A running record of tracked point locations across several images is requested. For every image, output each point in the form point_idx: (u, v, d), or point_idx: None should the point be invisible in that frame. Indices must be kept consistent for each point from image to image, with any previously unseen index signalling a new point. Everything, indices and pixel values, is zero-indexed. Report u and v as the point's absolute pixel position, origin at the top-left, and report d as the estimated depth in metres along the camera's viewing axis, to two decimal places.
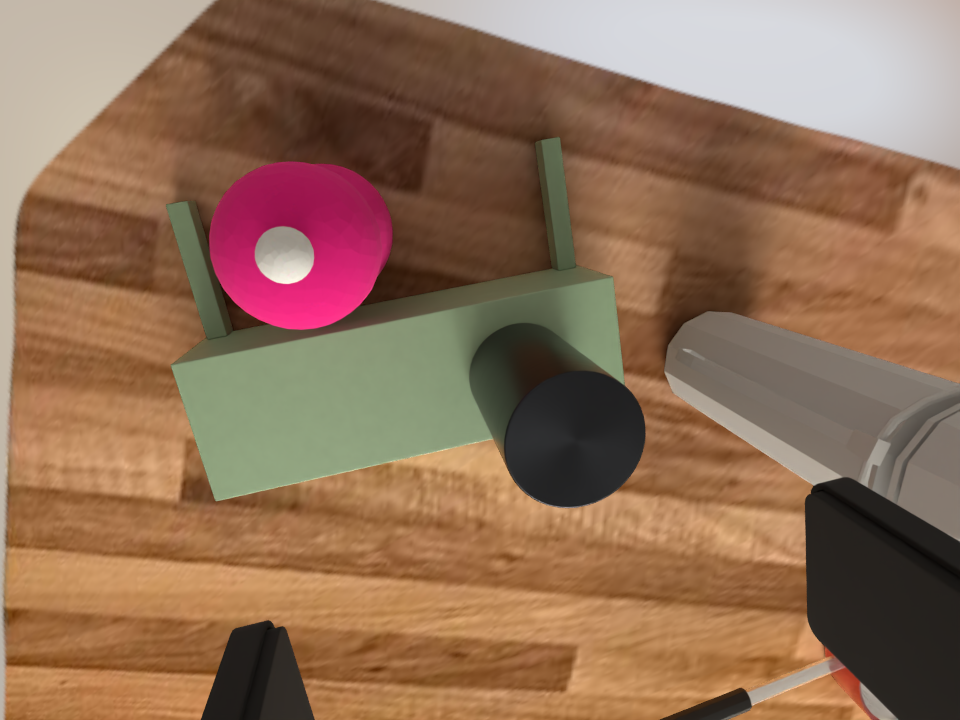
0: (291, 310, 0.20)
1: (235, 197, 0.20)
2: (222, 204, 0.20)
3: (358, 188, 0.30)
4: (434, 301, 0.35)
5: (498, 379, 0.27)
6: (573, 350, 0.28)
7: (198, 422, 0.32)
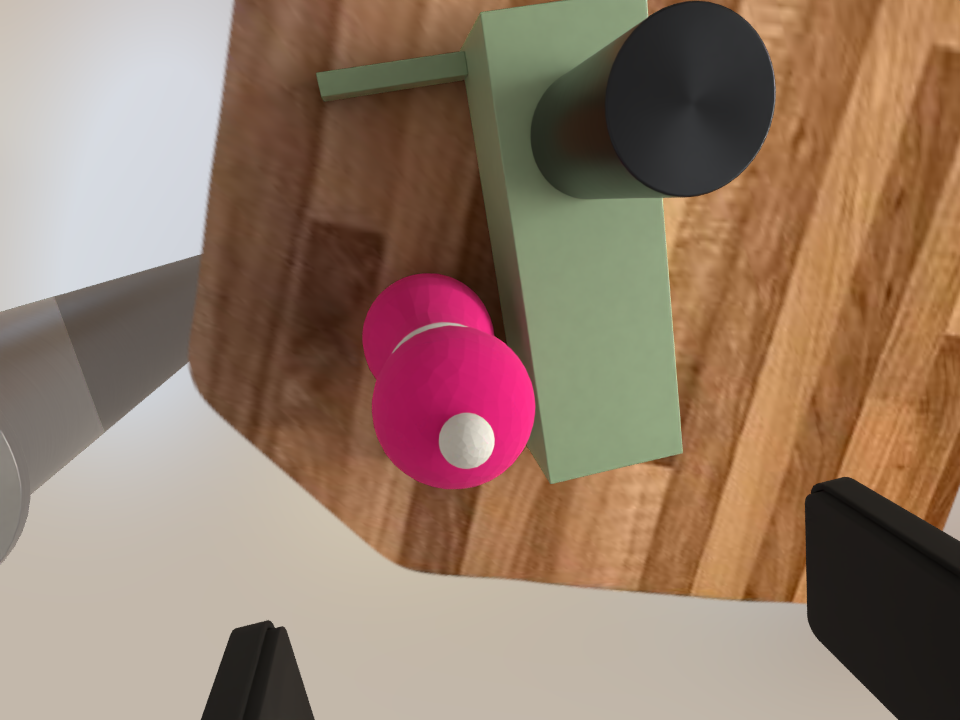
0: (518, 427, 0.20)
1: (410, 470, 0.21)
2: (415, 479, 0.21)
3: (386, 313, 0.30)
4: (499, 229, 0.33)
5: (600, 185, 0.24)
6: (573, 87, 0.23)
7: (606, 464, 0.34)
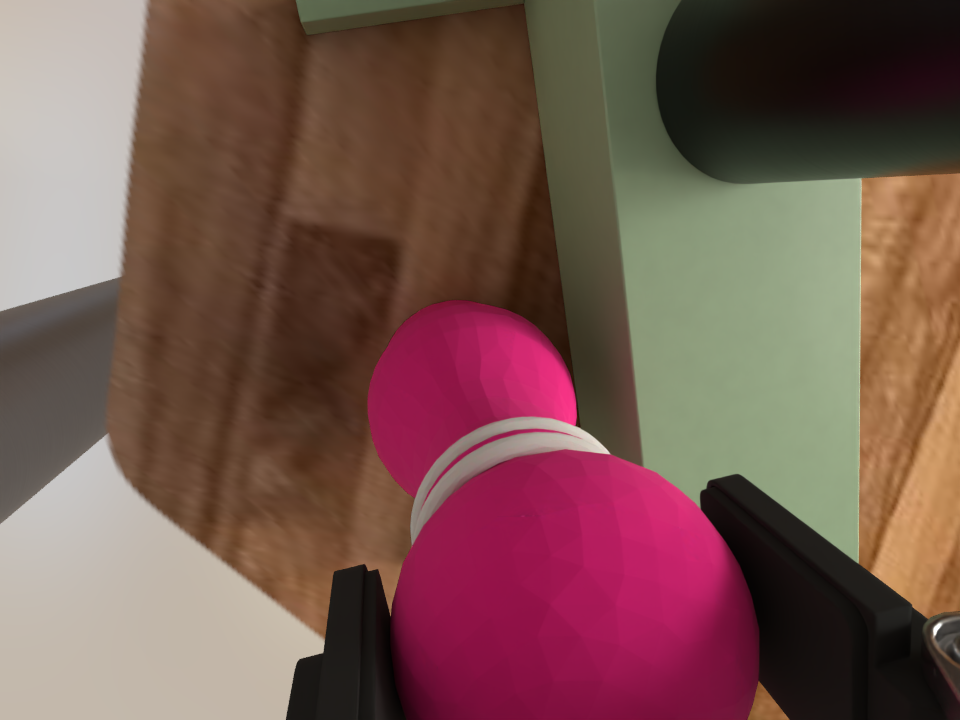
0: (743, 716, 0.09)
1: None
2: None
3: (407, 374, 0.18)
4: (583, 233, 0.21)
5: (849, 149, 0.12)
6: None
7: None
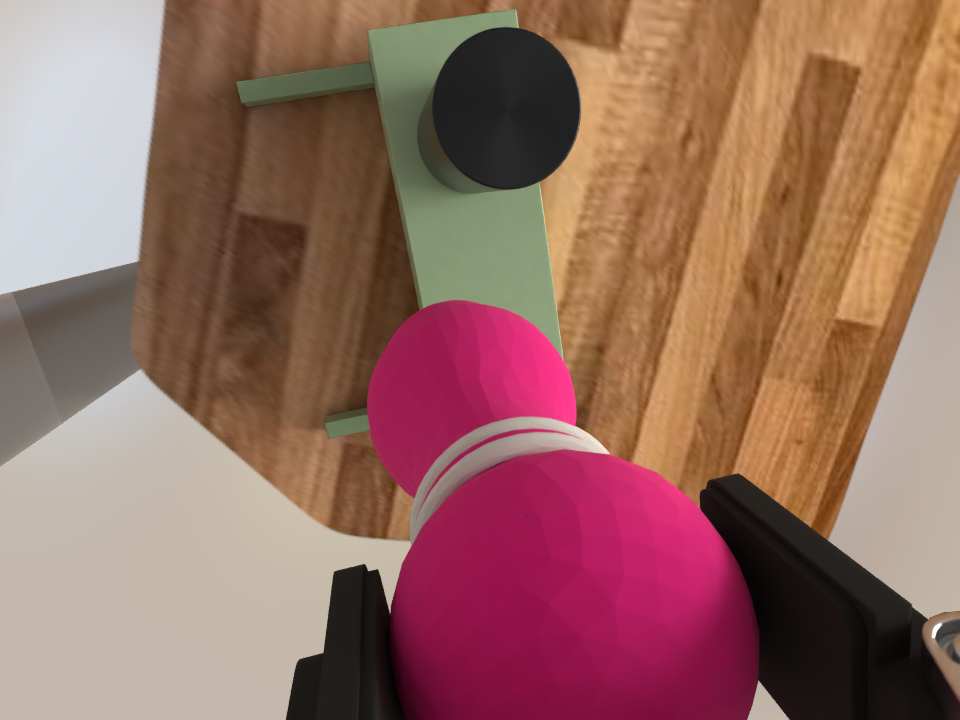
0: (742, 717, 0.09)
1: None
2: None
3: (406, 374, 0.18)
4: (403, 220, 0.37)
5: (456, 180, 0.28)
6: (428, 97, 0.27)
7: None
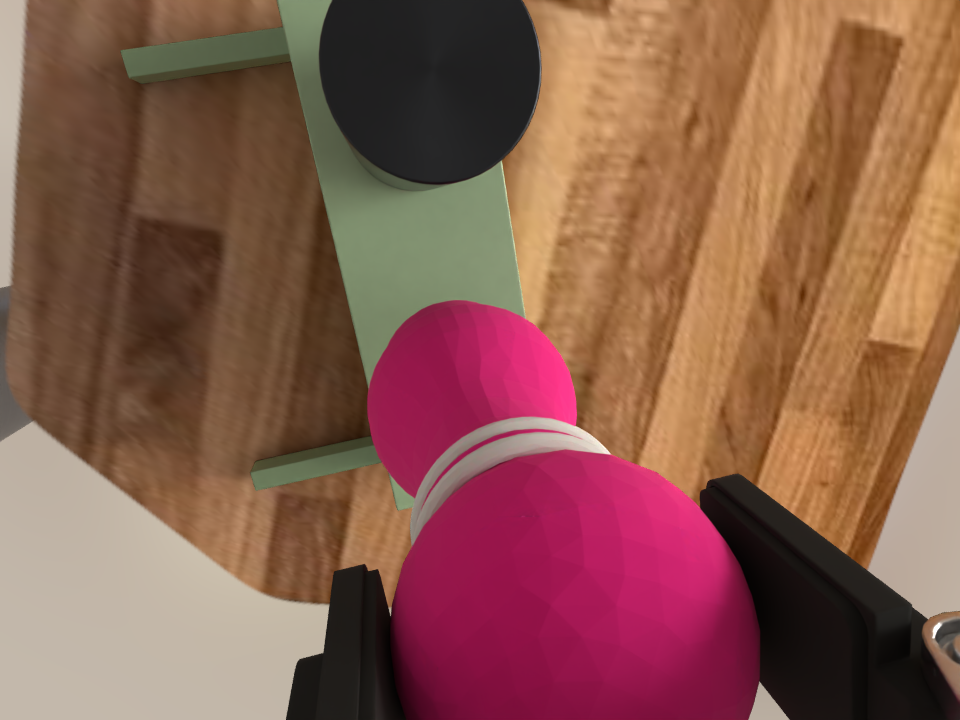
0: (743, 717, 0.09)
1: None
2: None
3: (406, 374, 0.18)
4: None
5: (377, 173, 0.20)
6: None
7: None
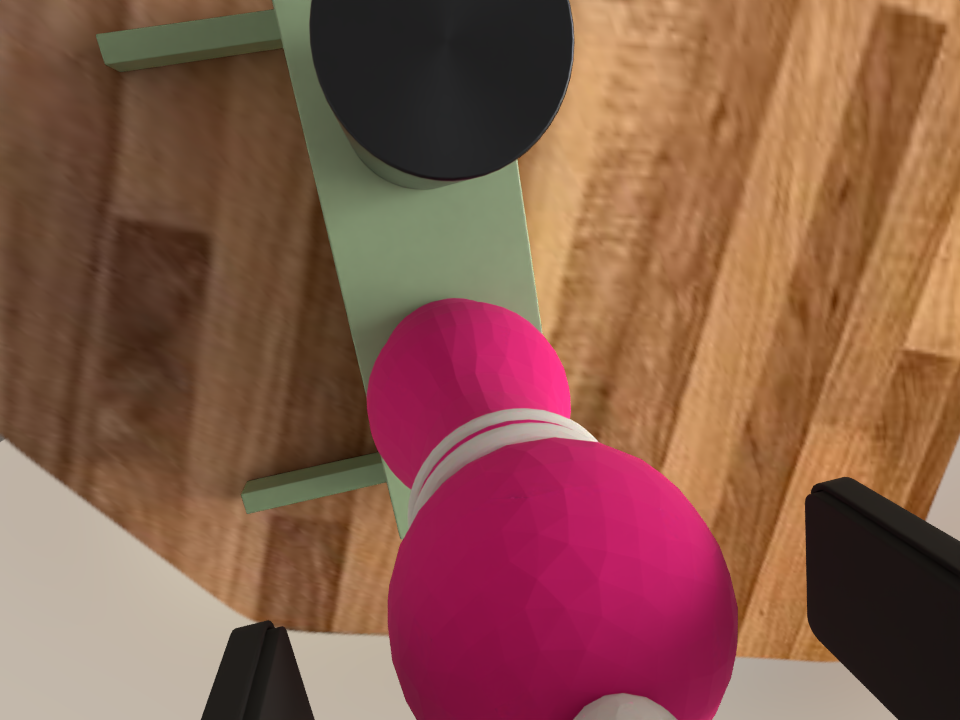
0: (720, 687, 0.09)
1: None
2: None
3: (404, 370, 0.19)
4: None
5: (379, 168, 0.18)
6: None
7: None
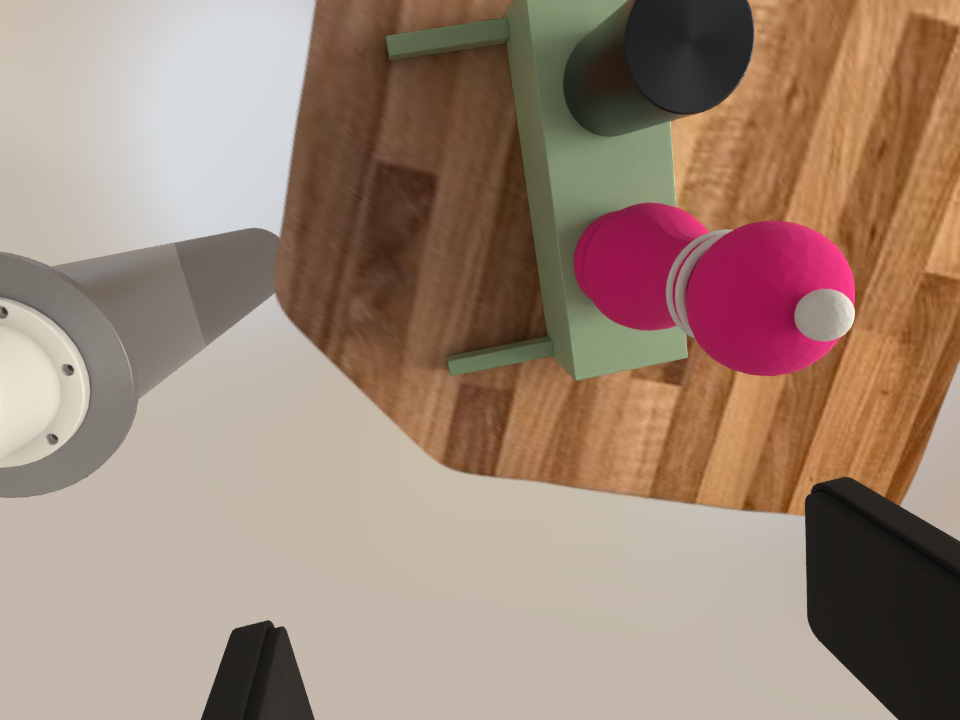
0: None
1: (743, 352, 0.22)
2: (741, 363, 0.22)
3: (626, 235, 0.31)
4: (535, 166, 0.39)
5: (620, 114, 0.30)
6: (599, 35, 0.29)
7: (622, 365, 0.40)
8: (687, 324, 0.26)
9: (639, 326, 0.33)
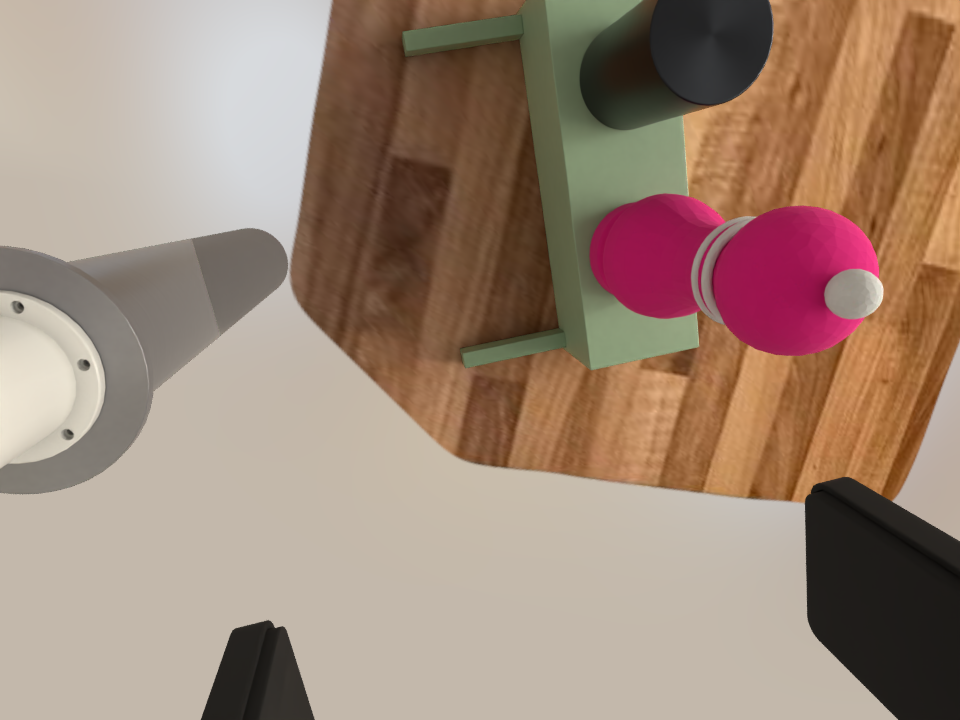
0: None
1: (773, 332, 0.23)
2: (770, 343, 0.23)
3: (646, 224, 0.32)
4: (549, 159, 0.40)
5: (640, 106, 0.31)
6: (620, 30, 0.30)
7: (636, 354, 0.41)
8: (713, 308, 0.27)
9: (658, 314, 0.34)
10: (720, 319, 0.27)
